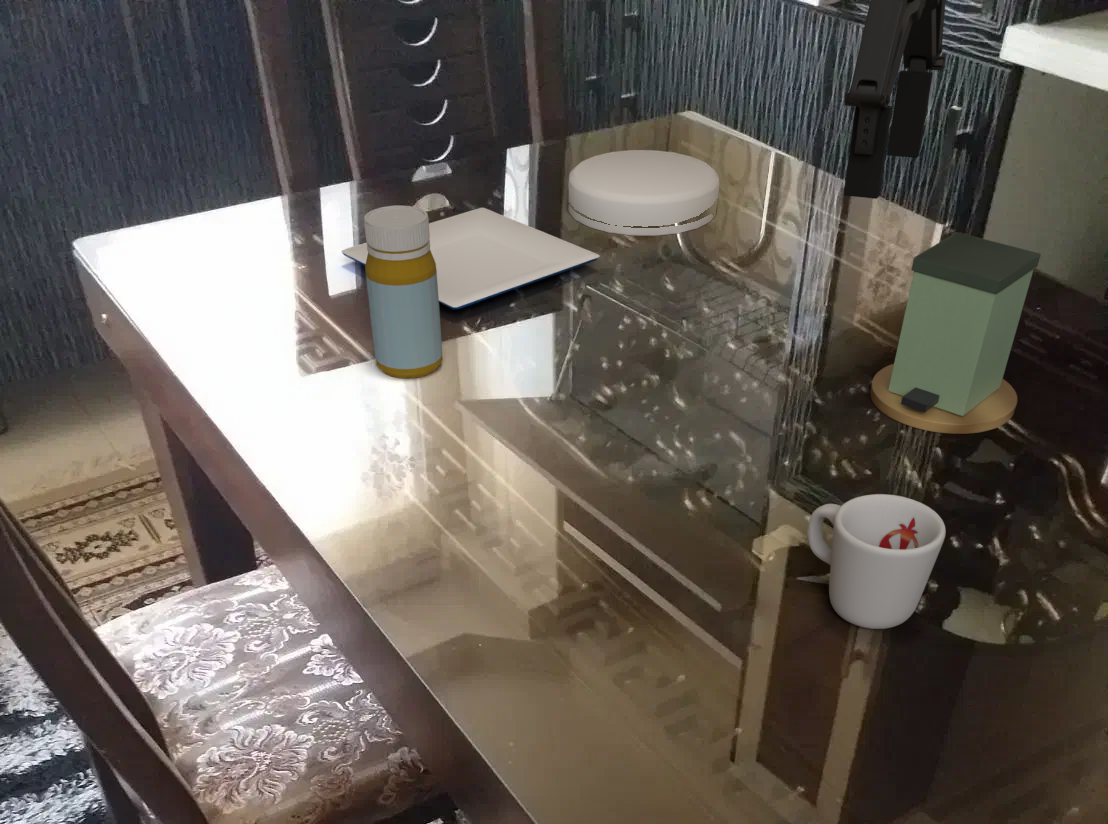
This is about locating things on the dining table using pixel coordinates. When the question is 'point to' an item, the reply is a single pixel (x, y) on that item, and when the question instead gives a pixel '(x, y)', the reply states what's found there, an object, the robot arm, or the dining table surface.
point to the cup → (877, 556)
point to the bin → (960, 322)
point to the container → (642, 192)
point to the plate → (490, 256)
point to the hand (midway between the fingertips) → (883, 175)
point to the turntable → (938, 420)
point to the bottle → (402, 292)
